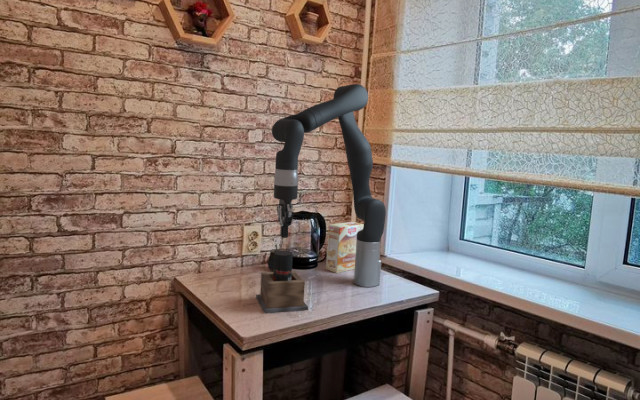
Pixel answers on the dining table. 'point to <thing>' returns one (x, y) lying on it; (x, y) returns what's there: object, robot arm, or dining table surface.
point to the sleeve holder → (281, 294)
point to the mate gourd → (272, 259)
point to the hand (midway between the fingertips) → (284, 237)
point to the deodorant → (282, 266)
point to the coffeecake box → (342, 246)
